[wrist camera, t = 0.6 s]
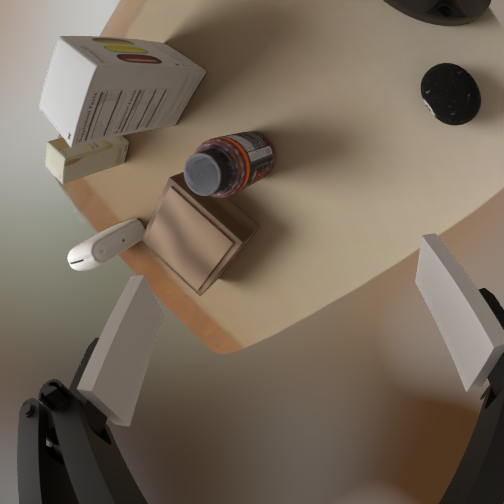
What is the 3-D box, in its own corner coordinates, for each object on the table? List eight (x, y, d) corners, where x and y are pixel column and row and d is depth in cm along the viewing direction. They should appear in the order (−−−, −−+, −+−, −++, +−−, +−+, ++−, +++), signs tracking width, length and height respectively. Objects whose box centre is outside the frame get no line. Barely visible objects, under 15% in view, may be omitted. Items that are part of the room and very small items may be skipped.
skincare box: (130, 140, 41) (66, 159, 32) (124, 164, 44) (63, 186, 34) (107, 125, 42) (45, 140, 32) (102, 147, 45) (43, 166, 35)
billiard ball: (480, 108, 21) (499, 108, 16) (439, 133, 24) (451, 138, 19) (448, 59, 20) (461, 48, 15) (407, 84, 24) (412, 77, 19)
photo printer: (140, 214, 47) (83, 245, 37) (149, 237, 48) (95, 272, 39) (108, 226, 52) (58, 254, 43) (117, 246, 54) (69, 277, 44)
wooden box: (193, 168, 39) (168, 178, 35) (260, 226, 38) (241, 243, 34) (162, 227, 46) (140, 240, 42) (218, 278, 46) (199, 297, 41)
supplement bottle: (254, 188, 36) (204, 220, 27) (222, 154, 36) (164, 174, 27) (287, 156, 33) (243, 177, 24) (252, 120, 33) (196, 128, 23)
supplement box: (209, 70, 32) (99, 65, 18) (176, 127, 37) (71, 152, 24) (162, 41, 32) (57, 34, 18) (135, 94, 37) (36, 108, 24)
